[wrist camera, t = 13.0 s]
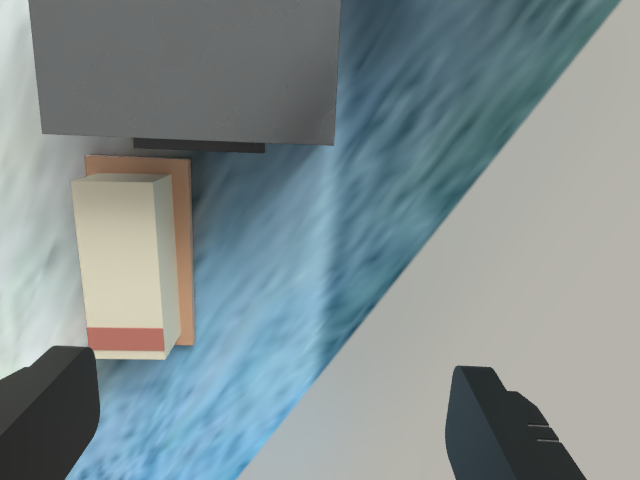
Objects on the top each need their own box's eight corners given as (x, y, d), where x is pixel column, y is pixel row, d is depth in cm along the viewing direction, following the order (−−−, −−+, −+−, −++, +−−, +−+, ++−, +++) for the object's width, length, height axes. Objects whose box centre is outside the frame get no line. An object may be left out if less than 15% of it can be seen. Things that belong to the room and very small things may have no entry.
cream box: (98, 172, 33) (69, 181, 30) (171, 174, 34) (152, 182, 30) (114, 332, 37) (90, 359, 33) (181, 333, 37) (165, 360, 33)
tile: (89, 154, 34) (84, 155, 33) (190, 158, 34) (187, 159, 33) (104, 337, 38) (100, 342, 37) (195, 340, 38) (193, 345, 37)
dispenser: (110, -71, 30) (11, -157, 20) (336, -59, 31) (347, -139, 21) (123, 137, 34) (44, 148, 24) (328, 145, 34) (333, 159, 24)
